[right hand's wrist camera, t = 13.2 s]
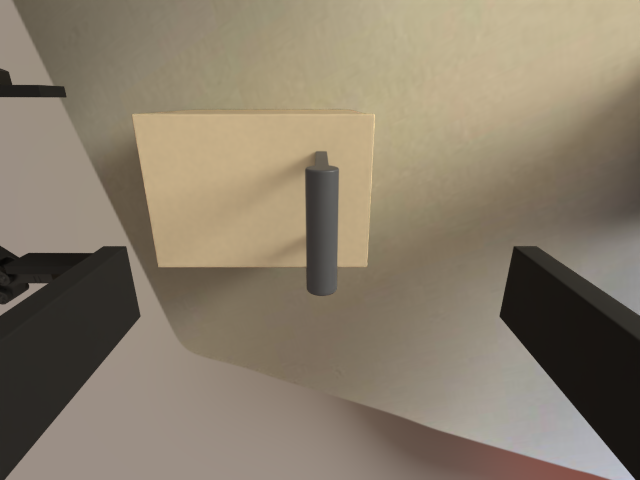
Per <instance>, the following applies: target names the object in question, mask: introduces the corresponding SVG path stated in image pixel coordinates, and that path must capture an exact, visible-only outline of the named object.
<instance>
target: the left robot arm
mask: <svg viewBox="0 0 640 480" xmlns="http://www.w3.org/2000/svg"><path fill="white" fill-rule="evenodd" d="M0 97H66V93H65V88H64V87H63V86H45V85H12V82H11V79H10V75H9V72H8V71H5V70H3V69H0ZM91 254H93V253H28V254H26V255H24V256H22V257H20V258H19V257H17V256H16V255H14V254H13V253H11V252H9V251H8V250H6V249H5V248H3V247H1V246H0V304H6V303H8V302H9V301H11V300H13V299H14V298H16V297H17V296H19V295H20V294H22V293H23V292H25V291H26V290H28V289H29V284H28V283H50V282H51V281H53V280H54V279H56V278H57V277H59V276H60V275H62V274H63V273H65V272H66V271H68V270H69V269H71V268H72V267H74V266H75V265H77V264H78V263H80V262H81V261H83V260H84V259H86V258H87V257H89V256H90V255H91Z"/></svg>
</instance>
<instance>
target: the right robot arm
mask: <svg viewBox="0 0 640 480" xmlns="http://www.w3.org/2000/svg"><path fill="white" fill-rule="evenodd" d="M139 318H140V312H139V307H138V302H137V297H136V292H135V287H134V282H133V277H132V273H131V268H130V263H129V258H128V253H127V248H126V246H104V247H102V248H100V249H99V250H98V251H96V252H94V253H93V254H91V255H90V256H89V257H87V258H86V259H84V260H83V261H81V262H80V263H78V264H77V265H75V266H74V267H72V268H71V269H69V270H68V271H66V272H65V273H63V274H62V275H60V276H59V277H57V278H56V279H54V280H53V281H51V282H50V283H48V284H47V285H45V286H44V287H42V288H41V289H39V290H38V291H36V292H35V293H34V294H32V295H31V296H29V297H28V298H26V299H25V300H23V301H22V302H20V303H19V304H17V305H16V306H14V307H13V308H11V309H10V310H8V311H7V312H5V313H4V314H2V315H1V316H0V480H5V479H6V477H7V476H8V475H9V474H10V472H11V471H12V470H13V469H14V468H15V466H16V465H17V464H18V463H19V462H20V460H21V459H22V458H23V457H24V456H25V454H26V453H27V452H28V451H29V450H30V448H31V447H32V446H33V445H34V444H35V442H36V441H37V440H38V439H39V438H40V436H41V435H42V434H43V433H44V432H45V430H46V429H47V428H48V427H49V426H50V424H51V423H52V422H53V421H54V420H55V418H56V417H57V416H58V415H59V414H60V412H61V411H62V410H63V409H64V408H65V406H66V405H67V404H68V403H69V402H70V400H71V399H72V398H73V397H74V396H75V394H76V393H77V392H78V391H79V390H80V388H81V387H82V386H83V385H84V384H85V382H86V381H87V380H88V379H89V378H90V376H91V375H92V374H93V373H94V372H95V370H96V369H97V368H98V367H99V366H100V364H101V363H102V362H103V361H104V360H105V358H106V357H107V356H108V355H109V354H110V352H111V351H112V350H113V349H114V348H115V346H116V345H117V344H118V343H119V341H120V340H121V339H122V338H123V337H124V336H125V334H126V333H127V332H128V331H129V330H130V328H131V327H132V326H133V325H134V324H135V322H136V321H137V320H138V319H139ZM500 318H501V319H502V320H503V321H504V322H505V324H506V325H507V326H508V327H509V328H510V330H511V331H512V332H513V333H514V334H515V336H516V337H517V338H518V339H519V340H520V342H521V343H522V344H523V345H524V346H525V348H526V349H527V350H528V351H529V352H530V354H531V355H532V356H533V357H534V358H535V360H536V361H537V362H538V363H539V364H540V366H541V367H542V368H543V369H544V370H545V372H546V373H547V374H548V375H549V376H550V378H551V379H552V380H553V381H554V382H555V384H556V385H557V386H558V387H559V388H560V390H561V391H562V392H563V393H564V394H565V396H566V397H567V398H568V399H569V400H570V402H571V403H572V404H573V405H574V406H575V408H576V409H577V410H578V411H579V412H580V414H581V415H582V416H583V417H584V418H585V420H586V421H587V422H588V423H589V424H590V426H591V427H592V428H593V429H594V430H595V432H596V433H597V434H598V435H599V436H600V438H601V439H602V440H603V441H604V442H605V444H606V445H607V446H608V447H609V448H610V450H611V451H612V452H613V453H614V454H615V456H616V457H617V458H618V459H619V460H620V462H621V463H622V464H623V465H624V466H625V468H626V469H627V470H628V471H629V473H630V474H631V475H632V476H633V477H634V479H635V480H640V316H639V315H638V314H636V313H635V312H633V311H632V310H630V309H629V308H627V307H626V306H624V305H623V304H621V303H620V302H618V301H617V300H615V299H614V298H612V297H611V296H609V295H608V294H606V293H605V292H604V291H602V290H601V289H599V288H598V287H596V286H595V285H593V284H592V283H590V282H589V281H587V280H586V279H584V278H583V277H581V276H580V275H578V274H577V273H575V272H574V271H572V270H571V269H569V268H568V267H566V266H565V265H563V264H562V263H560V262H559V261H557V260H556V259H554V258H553V257H551V256H550V255H549V254H547V253H546V252H544V251H543V250H541V249H540V248H538V247H537V246H514V248H513V253H512V258H511V263H510V268H509V273H508V277H507V282H506V287H505V292H504V297H503V302H502V307H501V312H500Z"/></svg>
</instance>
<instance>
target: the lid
mask: <svg viewBox="0 0 640 480" xmlns="http://www.w3.org/2000/svg"><path fill="white" fill-rule="evenodd" d="M132 119H133V125H134V131H135V137H136V142H137V148H138V154H139V159H140V165H141V171H142V177H143V182H144V188H145V194H146V199H147V205H148V211H149V217H150V222H151V228H152V234H153V239H154V245H155V251H156V257H157V262H158V267H306V272H307V290H308V292H310V293H311V294H314V295H318V296H326V295H330V294H333V293H334V292H335V291H336V289H337V267H367V260H368V241H369V221H370V202H371V182H372V162H373V143H374V123H375V114H132Z"/></svg>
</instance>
